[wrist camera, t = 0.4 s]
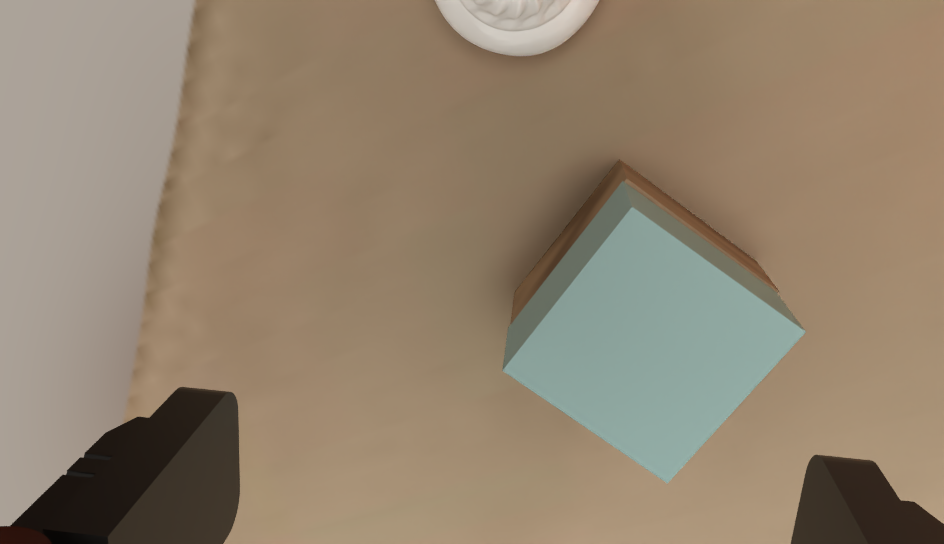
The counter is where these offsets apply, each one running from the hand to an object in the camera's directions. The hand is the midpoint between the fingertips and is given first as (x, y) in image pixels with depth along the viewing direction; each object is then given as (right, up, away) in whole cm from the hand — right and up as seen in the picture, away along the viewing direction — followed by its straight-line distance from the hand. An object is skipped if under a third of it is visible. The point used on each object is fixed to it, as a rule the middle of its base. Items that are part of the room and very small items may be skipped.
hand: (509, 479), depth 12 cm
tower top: (+6, +2, +21) cm, 21 cm away
